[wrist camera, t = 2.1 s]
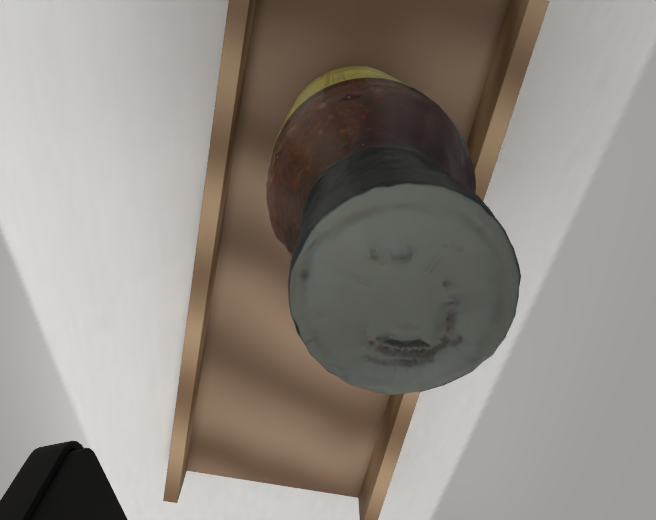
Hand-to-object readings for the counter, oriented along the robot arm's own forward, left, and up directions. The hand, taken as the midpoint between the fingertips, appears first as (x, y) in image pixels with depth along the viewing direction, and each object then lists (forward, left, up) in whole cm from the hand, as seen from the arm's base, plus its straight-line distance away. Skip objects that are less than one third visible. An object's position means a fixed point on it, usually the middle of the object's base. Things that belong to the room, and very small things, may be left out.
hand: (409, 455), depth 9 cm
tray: (+3, +7, -23) cm, 24 cm away
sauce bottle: (0, 0, -22) cm, 22 cm away
